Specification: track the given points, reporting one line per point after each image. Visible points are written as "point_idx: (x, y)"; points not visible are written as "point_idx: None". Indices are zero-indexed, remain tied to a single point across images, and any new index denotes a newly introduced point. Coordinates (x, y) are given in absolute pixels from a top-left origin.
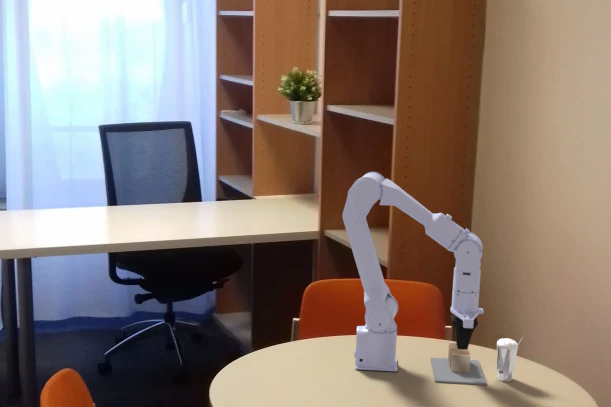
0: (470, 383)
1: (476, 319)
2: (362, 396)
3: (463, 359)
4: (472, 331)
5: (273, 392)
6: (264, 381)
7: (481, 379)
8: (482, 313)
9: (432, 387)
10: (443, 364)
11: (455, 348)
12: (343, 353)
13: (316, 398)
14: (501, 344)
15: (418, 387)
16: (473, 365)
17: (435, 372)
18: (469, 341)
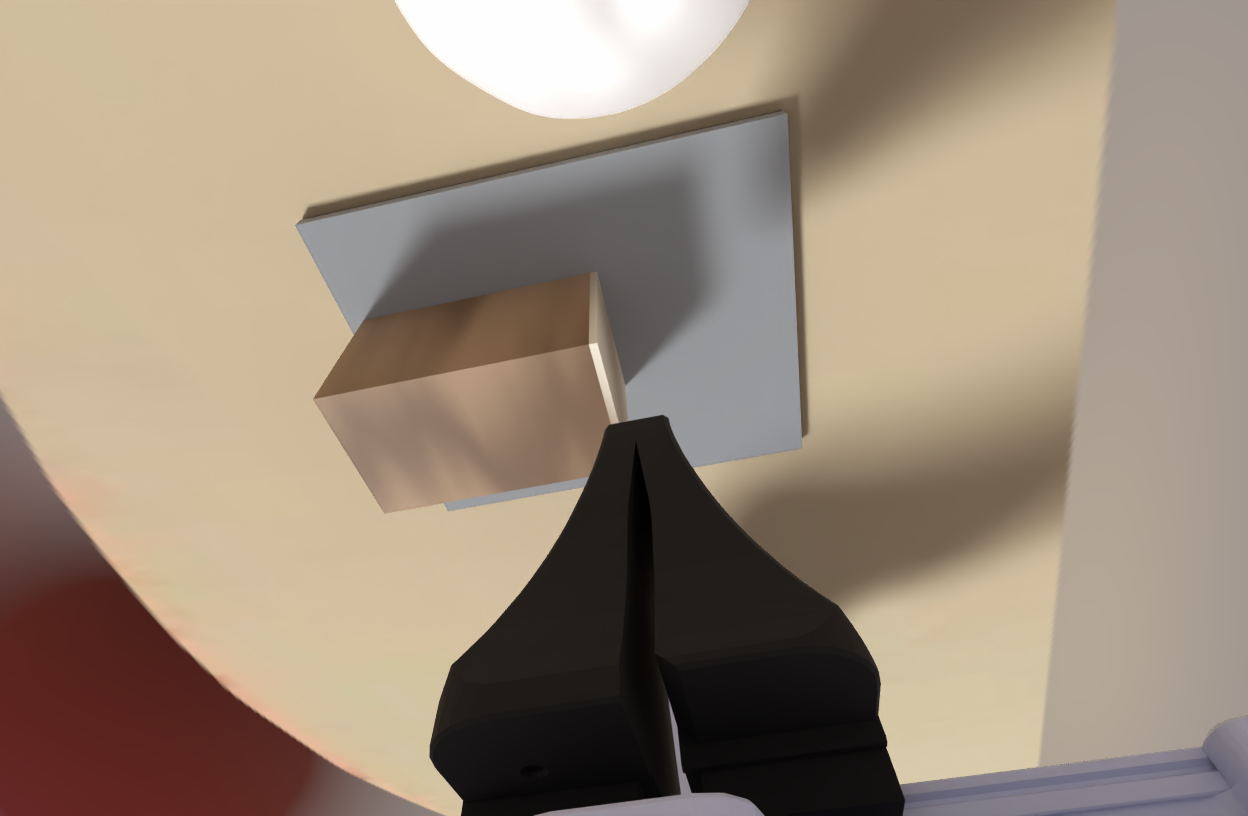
0: (792, 241)
1: (623, 674)
2: (1001, 647)
3: (611, 370)
4: (760, 552)
5: None
6: None
7: (711, 164)
8: (749, 807)
9: (877, 443)
10: None
11: (480, 463)
12: None
13: (1017, 732)
14: (720, 28)
15: (885, 499)
16: (436, 252)
17: None
18: (686, 461)
